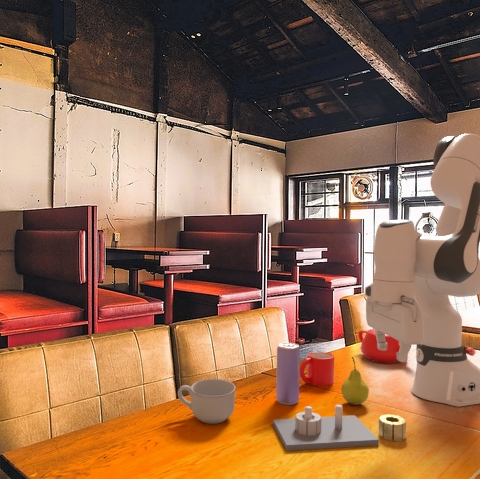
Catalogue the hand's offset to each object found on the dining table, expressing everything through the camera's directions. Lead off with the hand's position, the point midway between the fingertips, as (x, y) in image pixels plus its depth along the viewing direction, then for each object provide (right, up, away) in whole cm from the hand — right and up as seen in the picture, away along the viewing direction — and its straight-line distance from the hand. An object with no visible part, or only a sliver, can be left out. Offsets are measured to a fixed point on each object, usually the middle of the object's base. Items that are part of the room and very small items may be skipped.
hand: (391, 355), depth 105 cm
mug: (-11, -17, +36) cm, 41 cm away
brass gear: (0, -18, 0) cm, 18 cm away
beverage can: (-21, -17, +20) cm, 34 cm away
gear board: (-15, -18, +1) cm, 23 cm away
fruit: (-4, -18, +19) cm, 26 cm away
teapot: (+18, -17, +61) cm, 66 cm away
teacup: (-42, -18, +9) cm, 46 cm away
